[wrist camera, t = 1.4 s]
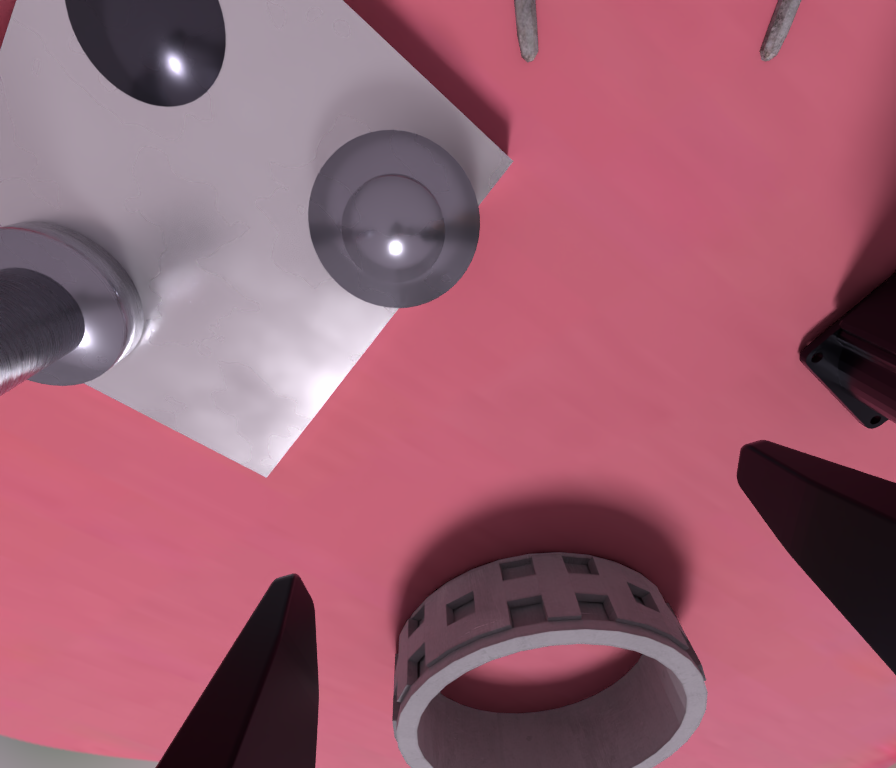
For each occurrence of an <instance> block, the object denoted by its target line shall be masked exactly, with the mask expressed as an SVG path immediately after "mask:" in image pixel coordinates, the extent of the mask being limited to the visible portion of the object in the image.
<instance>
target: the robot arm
mask: <svg viewBox="0 0 896 768" xmlns="http://www.w3.org/2000/svg"><path fill="white" fill-rule="evenodd" d="M814 354H816V355H815V356H814V357H813V358H812V356H813V355H814ZM800 361H801V362H802V363H803V365H804V366H805V367H806V368H807V369H808V370H809V371H810V372H811V373H812V374H813V375H814V376H815V377H816V378H817V379H818V380H819V381H820V382H821V383H822V384H823V385H824V386H825V387H826V388H827V389H828V390H829V391H830V393H831V394H832V395H833V396H834V397H835V398H836V399H837V400H838V401H839V402H840V403H841V404H842V405H843V406H844V407H845V408H846V409H847V410H848V411H849V412H850V413H851V414H852V415H853V416H854V417H855V418H856V419H857V421H858V422H859V423H861V424H862V425H864V426H865V427H867V428H871V429H873V428H876V427H878V426H880V425H881V424H883V423H884V422H886V421H887V420H888V419H889V420H891V421H893V422H894V423H896V273H895V274H893V275H892V276H891V277H890V278H889V279H887V280H886V281H885V282H884V283H883V284H881V285H880V286H879V287H878V288H877V289H875V290H874V291H873V292H872V293H870V294H869V295H868V296H867V297H866V298H864V299H863V300H862V301H861V302H860V303H858V304H857V305H856V306H855V307H854V308H852V309H851V310H850V311H849V312H848V313H846V314H845V315H844V316H843V317H842V318H840V319H839V320H838V321H837V322H836V323H834V324H833V325H832V326H831V327H830V328H828V329H827V330H826V331H825V332H823V333H822V334H821V335H820V336H819V337H817V338H816V339H815V340H814V341H813V342H811V343H810V344H809V345H808V346H807V347H805V348H804V349H803V351H802V352H801V354H800ZM737 480H738V483H739V485H740V487H741V489H742V490H743V492H744V493H745V494H746V496H747V497H748V498H749V500H750V501H751V503H752V504H753V505H754V507H755V508H756V509H757V511H758V512H759V514H760V515H761V516H762V518H763V519H764V520H765V522H766V523H767V525H768V526H769V527H770V529H771V530H772V531H773V533H774V534H775V536H776V537H777V538H778V540H779V541H780V542H781V544H782V545H783V546H784V548H785V549H786V550H787V552H788V553H789V554H790V555H791V556H792V558H793V559H794V560H795V561H796V562H797V564H798V565H799V566H800V567H801V568H802V569H803V570H804V571H805V573H806V574H807V575H808V576H809V577H810V578H811V579H812V581H813V582H814V583H815V584H816V585H817V586H818V587H819V588H820V590H821V591H822V592H823V593H824V594H825V595H826V596H827V598H828V599H829V600H830V601H831V602H832V603H833V604H834V606H835V607H836V608H837V609H838V610H839V611H840V612H841V613H842V615H843V616H844V617H845V618H846V619H847V620H848V621H849V623H850V624H851V625H852V626H853V627H854V628H855V629H856V630H857V632H858V633H859V634H860V635H861V636H862V637H863V638H864V640H865V641H866V642H867V643H868V644H869V645H870V646H871V647H872V649H873V650H874V651H875V652H876V653H877V654H878V655H879V657H880V658H881V659H882V660H883V661H884V662H885V663H886V665H887V666H888V667H889V668H890V669H891V670H892V671H893V672H894V674H895V675H896V483H894V482H891V481H888V480H885V479H882V478H879V477H876V476H873V475H870V474H867V473H864V472H861V471H858V470H855V469H852V468H848V467H845V466H842V465H839V464H836V463H833V462H830V461H827V460H824V459H821V458H818V457H815V456H812V455H809V454H806V453H803V452H800V451H797V450H794V449H791V448H788V447H785V446H782V445H779V444H776V443H773V442H770V441H766V440H760V441H756V442H752V443H749V444H746V445H744V446H743V447H742V448H741V451H740V456H739V463H738V469H737ZM318 705H319V685H318V663H317V644H316V624H315V609H314V604H313V600H312V598H311V596H310V594H309V593H308V591H307V589H306V587H305V585H304V583H303V582H302V580H301V578H300V577H299V575H297V574H290V575H286V576H283V577H279V578H277V579H275V580H274V581H273V582H272V584H271V585H270V587H269V588H268V590H267V592H266V593H265V595H264V596H263V598H262V600H261V601H260V603H259V604H258V606H257V607H256V609H255V611H254V612H253V614H252V615H251V617H250V619H249V620H248V622H247V623H246V625H245V627H244V628H243V630H242V631H241V633H240V634H239V636H238V638H237V639H236V641H235V642H234V644H233V646H232V647H231V649H230V650H229V652H228V654H227V655H226V657H225V658H224V660H223V661H222V663H221V665H220V666H219V668H218V669H217V671H216V673H215V674H214V676H213V677H212V679H211V681H210V682H209V684H208V685H207V687H206V689H205V690H204V692H203V693H202V695H201V696H200V698H199V700H198V701H197V703H196V704H195V706H194V708H193V709H192V711H191V712H190V714H189V716H188V717H187V719H186V720H185V722H184V723H183V725H182V727H181V728H180V730H179V731H178V733H177V735H176V736H175V738H174V739H173V741H172V743H171V744H170V746H169V747H168V749H167V751H166V752H165V754H164V755H163V757H162V758H161V760H160V762H159V763H158V765H157V766H156V768H315V761H316V743H317V725H318Z"/></svg>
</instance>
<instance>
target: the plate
mask: <svg viewBox="0 0 896 768" xmlns="http://www.w3.org/2000/svg"><path fill="white" fill-rule="evenodd" d="M380 130H399V131H407V132H411V133H415V134H418V135H420V136H423V137H425V138H428V139H429V140H431V141H433V142H434V143H436V144H438V145H439V146H441V147H442V148H443V149H445V150H446V151H447V152H448V153H449V154H450V155H451V156H452V157H453V158H454V159H455V160H456V161H457V162H458V163H459V165H460V166H461V167H462V169H463V170H464V171H465V173H466V175H467V177H468V178H469V180H470V182H471V184H472V187H473V189H474V192H475V195H476V199H477V202H478V206H479V205H480V203H481V202H482V201H483V199H484V198H485V197H486V196H487V194H488V193H489V192H490V190H491V189H492V188H493V187H494V185H495V184H496V183H497V181H498V180H499V179H500V178H501V176H502V175H503V174H504V173H505V171H506V170H507V169H508V167H509V166H510V165H511V164H512V162H513V160H511V159H510V158H509V157H508V156H507V155H506V154H505V153H504V152H503V151H502V150H501V149H500V148H499V147H498V146H497V145H496V144H495V143H493V142H492V141H491V140H490V139H489V138H488V137H487V136H486V135H485V134H484V133H483V132H482V131H481V130H480V129H479V128H478V127H477V126H475V125H474V124H473V123H472V122H471V121H470V120H469V119H468V118H467V117H466V116H465V115H464V114H463V113H462V112H461V111H460V110H458V109H457V108H456V107H455V106H454V105H453V104H452V103H451V102H450V101H449V100H448V99H447V98H446V97H445V96H444V95H443V94H442V93H440V92H439V91H438V90H437V89H436V88H435V87H434V86H433V85H432V84H431V83H430V82H429V81H428V80H427V79H426V78H425V77H424V76H422V75H421V74H420V73H419V72H418V71H417V70H416V69H415V68H414V67H413V66H412V65H411V64H410V63H409V62H408V61H407V60H405V59H404V58H403V57H402V56H401V55H400V54H399V53H398V52H397V51H396V50H395V49H394V48H393V47H392V46H391V45H390V44H389V43H387V42H386V41H385V40H384V39H383V38H382V37H381V36H380V35H379V34H378V33H377V32H376V31H375V30H374V29H373V28H372V27H371V26H369V25H368V24H367V23H366V22H365V21H364V20H363V19H362V18H361V17H360V16H359V15H358V14H357V13H356V12H355V11H354V10H353V9H351V8H350V7H349V6H348V5H347V4H346V3H345V2H344V1H343V0H16V3H15V6H14V9H13V12H12V15H11V18H10V22H9V25H8V28H7V31H6V34H5V37H4V40H3V43H2V46H1V49H0V227H2V226H7V225H11V224H16V223H21V222H45V223H51V224H56V225H59V226H62V227H66V228H69V229H71V230H73V231H76V232H78V233H80V234H82V235H84V236H86V237H87V238H89V239H91V240H93V241H94V242H95V243H97V244H98V245H100V246H101V247H103V248H104V249H105V250H106V251H107V252H109V253H110V254H111V255H112V256H113V257H114V258H115V259H116V260H117V261H118V262H119V263H120V264H121V266H122V267H123V268H124V269H125V271H126V272H127V273H128V275H129V276H130V278H131V279H132V281H133V283H134V285H135V287H136V289H137V291H138V293H139V296H140V299H141V302H142V307H143V314H144V323H143V330H142V334H141V337H140V339H139V342H138V343H137V345H136V346H135V348H134V349H133V350H132V351H131V352H130V353H129V354H128V355H127V356H126V357H125V358H123V359H122V360H121V361H119V362H118V363H117V364H115V365H114V366H113V367H111V368H110V369H109V370H108V371H106V372H105V373H103V374H102V375H101V376H99V377H97V378H95V379H93V380H91V381H88V382H85V383H84V384H86V385H88V386H90V387H92V388H94V389H96V390H98V391H100V392H102V393H104V394H106V395H108V396H109V397H111V398H113V399H115V400H117V401H119V402H121V403H123V404H125V405H127V406H129V407H131V408H133V409H135V410H137V411H138V412H140V413H142V414H144V415H146V416H148V417H150V418H152V419H154V420H156V421H158V422H160V423H162V424H164V425H166V426H168V427H169V428H171V429H173V430H175V431H177V432H179V433H181V434H183V435H185V436H187V437H189V438H191V439H193V440H195V441H197V442H199V443H200V444H202V445H204V446H206V447H208V448H210V449H212V450H214V451H216V452H218V453H220V454H222V455H224V456H226V457H228V458H229V459H231V460H233V461H235V462H237V463H239V464H241V465H243V466H245V467H247V468H249V469H251V470H253V471H255V472H257V473H259V474H260V475H262V476H264V477H266V478H267V476H268V475H269V474H270V472H271V471H272V470H273V469H274V467H275V466H276V465H277V464H278V462H279V461H280V460H281V458H282V457H283V456H284V455H285V453H286V452H287V451H288V449H289V448H290V447H291V446H292V444H293V443H294V442H295V440H296V439H297V438H298V437H299V435H300V434H301V433H302V431H303V430H304V429H305V428H306V426H307V425H308V424H309V423H310V421H311V420H312V419H313V417H314V416H315V415H316V414H317V412H318V411H319V410H320V408H321V407H322V406H323V405H324V403H325V402H326V401H327V399H328V398H329V397H330V396H331V394H332V393H333V392H334V390H335V389H336V388H337V387H338V385H339V384H340V383H341V381H342V380H343V379H344V378H345V376H346V375H347V374H348V373H349V371H350V370H351V369H352V367H353V366H354V365H355V364H356V362H357V361H358V360H359V358H360V357H361V356H362V355H363V353H364V352H365V351H366V349H367V348H368V347H369V346H370V344H371V343H372V342H373V340H374V339H375V338H376V337H377V335H378V334H379V333H380V331H381V330H382V329H383V328H384V326H385V325H386V324H387V323H388V321H389V320H390V319H391V317H392V316H393V315H394V314H395V312H396V311H397V310H398V308H388V307H382V306H377V305H374V304H371V303H368V302H365V301H363V300H361V299H359V298H357V297H355V296H353V295H352V294H350V293H349V292H347V291H346V290H345V289H343V288H342V287H341V286H340V285H339V284H338V283H337V282H336V281H335V280H334V279H333V278H332V277H331V276H330V275H329V273H328V272H327V271H326V270H325V268H324V267H323V265H322V263H321V261H320V260H319V258H318V256H317V254H316V251H315V249H314V246H313V243H312V240H311V236H310V230H309V223H308V208H309V199H310V195H311V190H312V187H313V185H314V182H315V179H316V177H317V175H318V173H319V171H320V170H321V168H322V166H323V165H324V164H325V162H326V161H327V160H328V158H329V157H330V156H331V155H332V154H333V153H334V152H335V151H336V150H337V149H339V148H340V147H341V146H343V145H344V144H345V143H347V142H348V141H350V140H352V139H354V138H356V137H358V136H361V135H364V134H366V133H370V132H375V131H380Z"/></svg>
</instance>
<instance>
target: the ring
mask: <svg viewBox="0 0 896 768" xmlns="http://www.w3.org/2000/svg"><path fill="white" fill-rule="evenodd" d="M569 644H592V645H608V646H614V647H618V648H623V649H628V650H633V651H636V652H639V653H641V654H642V656H641V657H640V659H639V661H638V662H637V663H636V664H635V665H634V666H633V667H632V669H631V670H630V671H629V672H628V673H627V674H626V675H625V676H623V677H622V678H621V679H620V680H618V681H617V682H616V683H614V684H613V685H612V686H610V687H608V688H607V689H605V690H603V691H601V692H600V693H598V694H596V695H594V696H592V697H589V698H587V699H585V700H582V701H580V702H577V703H574V704H571V705H567V706H564V707H561V708H557V709H551V710H546V711H540V712H531V713H517V714H516V713H495V712H489V711H483V710H477V709H474V708H471V707H468V706H464V705H461V704H459V703H457V702H455V701H453V700H451V699H449V698H447V697H445V696H444V695H442V694H441V693H440V691H441V690H442V689H443V688H444V687H445V686H446V685H448V684H449V683H451V682H452V681H454V680H455V679H457V678H458V677H460V676H461V675H463V674H464V673H466V672H468V671H470V670H472V669H474V668H476V667H478V666H481V665H483V664H485V663H487V662H489V661H491V660H494V659H497V658H501V657H504V656H507V655H510V654H513V653H517V652H520V651H525V650H530V649H535V648H541V647H546V646H554V645H569ZM704 681H706V678H705V675H704V671H703V668H702V665H701V663H700V661H699V659H698V657H697V655H696V653H695V651H694V650H693V648H692V646H691V644H690V642H689V640H688V638H687V636H686V635H685V633H684V631H683V629H682V627H681V625H680V623H679V621H678V620H677V618H676V616H675V614H674V612H673V610H672V608H671V606H670V605H669V603H665V601H664V599H663V597H662V595H661V594H660V592H659V590H658V588H657V586H656V585H654V584H653V583H652V582H651V581H649V580H648V579H647V578H645V577H644V576H643V575H642V574H640V573H638V572H636V571H634V570H632V569H630V568H628V567H626V566H623V565H621V564H619V563H616V562H614V561H611V560H607V559H603V558H599V557H595V556H591V555H586V554H575V553H563V552H553V553H535V554H526V555H521V556H516V557H511V558H506V559H501V560H497V561H494V562H492V563H489V564H486V565H483V566H480V567H477V568H474V569H471V570H470V571H468V572H466V573H464V574H462V575H460V576H458V577H456V578H454V579H452V580H450V581H449V582H447V583H445V584H444V585H443V586H442V587H440V588H439V589H438V590H436V591H435V592H434V593H432V594H431V595H430V596H428V597H427V598H426V599H425V600H424V601H423V603H422V604H421V605H420V606H419V607H418V608H417V609H416V610H415V612H414V613H413V614H412V615H411V617H410V619H408V620H407V622H406V624H405V626H404V627H403V629H402V631H401V633H400V635H399V653H398V654H395V674H394V697H393V728H394V736H395V738H396V740H397V742H398V748H399V750H400V752H401V754H402V755H403V757H404V759H405V761H406V763H407V764H408V765H409V766H410V767H411V768H653V767H654V766H656V765H657V764H659V763H660V762H662V761H663V760H665V759H666V758H668V757H670V756H671V755H672V754H673V753H674V752H675V751H677V750H678V749H679V748H680V747H681V746H682V745H683V744H684V743H686V742H687V741H688V739H689V738H690V737H691V735H692V734H693V733H694V731H695V730H696V729H697V728H698V726H699V724H700V722H701V720H702V717H703V715H704V713H705V710H706V703H707V689H706V686H705V683H704Z"/></svg>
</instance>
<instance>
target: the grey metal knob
mask: <svg viewBox="0 0 896 768" xmlns="http://www.w3.org/2000/svg"><path fill="white" fill-rule="evenodd" d="M308 223H309V230H310V236H311V240H312V243H313V246H314V249H315V251H316V254H317V256H318V258H319V260H320V261H321V263H322V265H323V267H324V268H325V270H326V271H327V272H328V273H329V275H330V276H331V277H332V278H333V279H334V280H335V281H336V282H337V283H338V284H339V285H340V286H341V287H342V288H343V289H345V290H346V291H347V292H349V293H350V294H352V295H353V296H355V297H357V298H359V299H361V300H363V301H365V302H368V303H371V304H374V305H377V306H382V307H388V308H408V307H413V306H418V305H421V304H424V303H427V302H430V301H432V300H434V299H436V298H438V297H439V296H441V295H442V294H444V293H446V292H447V291H448V290H449V289H450V288H452V287H453V286H454V285H455V284H456V283H457V282H458V280H459V279H460V278H461V277H462V276H463V274H464V273H465V271H466V270H467V268H468V266H469V264H470V263H471V261H472V258H473V256H474V253H475V251H476V247H477V243H478V238H479V230H480V215H479V208H478V202H477V199H476V195H475V192H474V189H473V187H472V184H471V182H470V180H469V178H468V177H467V175H466V173H465V171H464V170H463V169H462V167H461V166H460V165H459V163H458V162H457V161H456V160H455V159H454V158H453V157H452V156H451V155H450V154H449V153H448V152H447V151H446V150H445V149H443V148H442V147H441V146H439V145H438V144H436V143H434V142H433V141H431V140H429V139H428V138H425V137H423V136H420V135H418V134H415V133H411V132H407V131H399V130H380V131H375V132H370V133H366V134H364V135H361V136H358V137H356V138H354V139H352V140H350V141H348V142H347V143H345V144H344V145H343V146H341V147H340V148H339V149H337V150H336V151H335V152H334V153H333V154H332V155H331V156H330V157H329V158H328V160H327V161H326V162H325V164H324V165H323V166H322V168H321V170H320V171H319V173H318V175H317V177H316V179H315V182H314V185H313V187H312V190H311V195H310V199H309V208H308Z"/></svg>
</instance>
